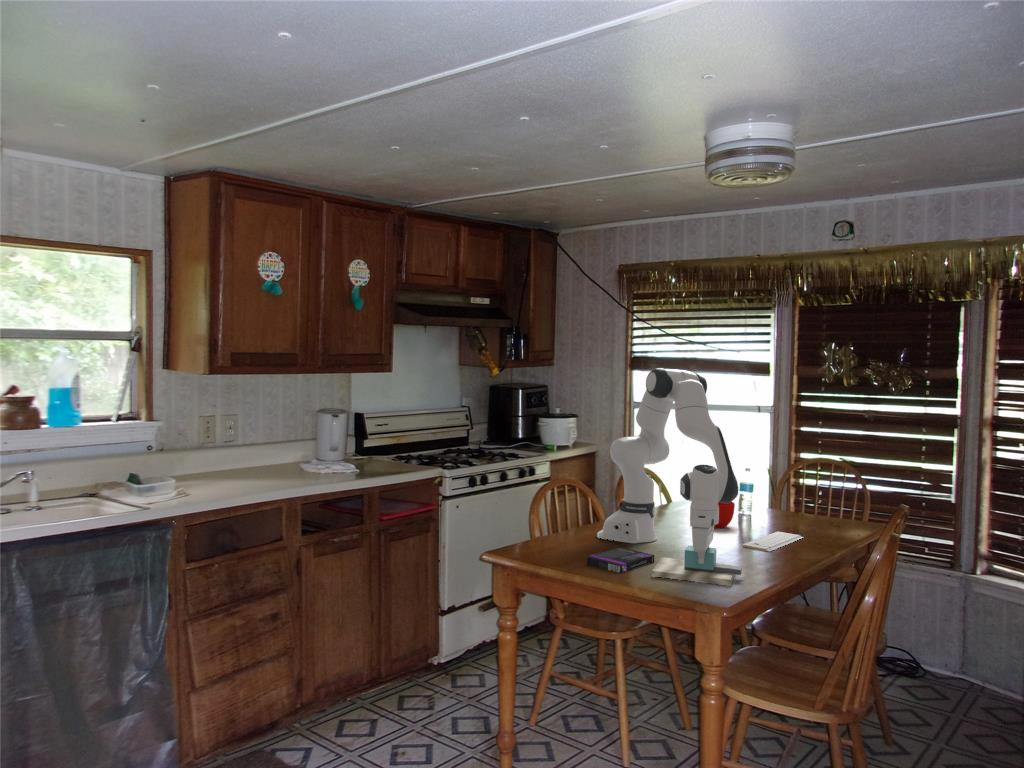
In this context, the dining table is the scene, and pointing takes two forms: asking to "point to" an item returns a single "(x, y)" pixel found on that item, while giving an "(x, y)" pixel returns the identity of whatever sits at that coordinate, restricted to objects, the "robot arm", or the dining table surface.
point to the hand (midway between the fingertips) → (703, 560)
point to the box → (620, 559)
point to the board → (689, 572)
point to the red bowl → (725, 514)
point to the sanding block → (692, 559)
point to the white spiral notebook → (772, 541)
